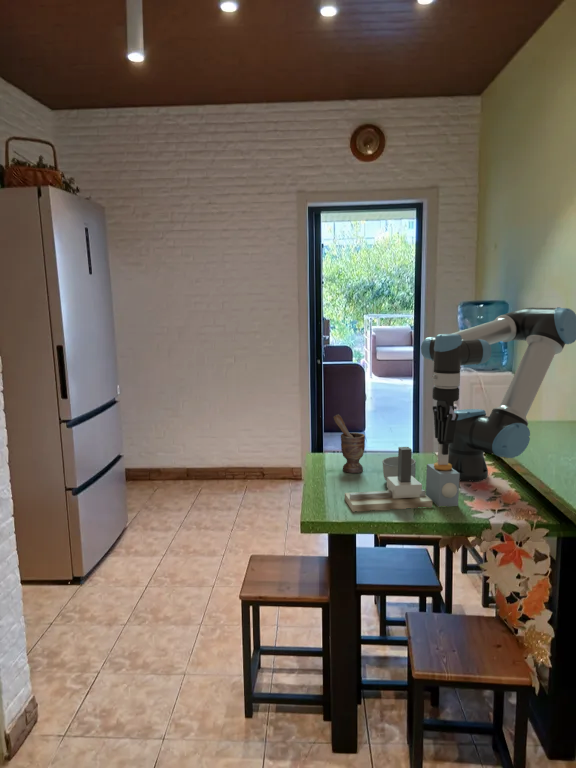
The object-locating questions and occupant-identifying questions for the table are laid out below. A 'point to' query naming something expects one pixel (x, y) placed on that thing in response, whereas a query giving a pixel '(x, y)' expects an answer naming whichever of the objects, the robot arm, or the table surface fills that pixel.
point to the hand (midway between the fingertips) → (442, 463)
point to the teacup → (395, 467)
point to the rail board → (384, 501)
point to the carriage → (404, 477)
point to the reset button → (442, 467)
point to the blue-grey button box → (442, 486)
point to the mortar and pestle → (351, 447)
